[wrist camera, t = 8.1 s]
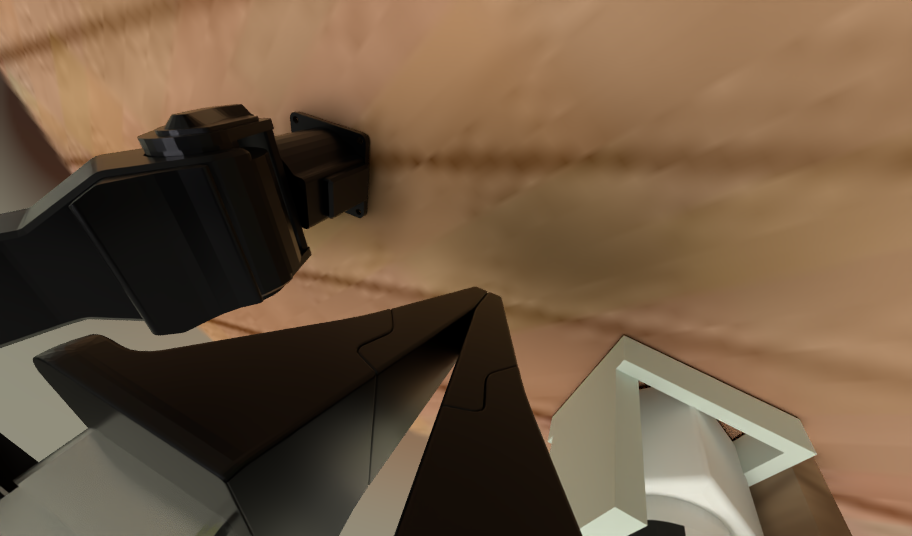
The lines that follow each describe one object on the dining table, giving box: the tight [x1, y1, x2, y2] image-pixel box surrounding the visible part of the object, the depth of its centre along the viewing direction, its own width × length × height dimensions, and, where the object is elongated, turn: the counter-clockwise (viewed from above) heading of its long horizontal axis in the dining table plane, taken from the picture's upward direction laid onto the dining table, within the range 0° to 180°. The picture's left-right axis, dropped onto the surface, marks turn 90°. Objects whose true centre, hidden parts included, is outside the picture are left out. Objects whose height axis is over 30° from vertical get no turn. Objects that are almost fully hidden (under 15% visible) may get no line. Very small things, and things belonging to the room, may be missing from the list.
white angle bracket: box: [548, 336, 817, 536], centre depth 21 cm, size 12×12×11 cm
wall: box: [749, 457, 852, 536], centre depth 21 cm, size 2×8×8 cm, turn 164°
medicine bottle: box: [628, 387, 764, 536], centre depth 21 cm, size 7×7×12 cm
